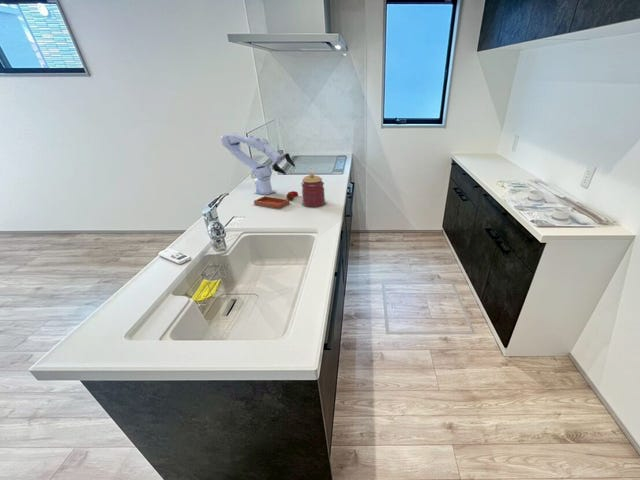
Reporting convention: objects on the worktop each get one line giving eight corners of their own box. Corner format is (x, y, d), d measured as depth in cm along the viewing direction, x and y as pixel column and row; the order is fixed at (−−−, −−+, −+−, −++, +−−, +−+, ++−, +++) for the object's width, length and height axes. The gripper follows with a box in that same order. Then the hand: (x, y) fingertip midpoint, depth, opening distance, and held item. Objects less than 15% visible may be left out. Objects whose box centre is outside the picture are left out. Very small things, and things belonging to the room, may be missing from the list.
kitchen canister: (298, 205, 180) (295, 174, 171) (310, 199, 190) (307, 169, 181) (318, 208, 176) (316, 176, 167) (329, 201, 187) (327, 171, 177)
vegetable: (294, 195, 185) (299, 192, 196) (285, 192, 184) (291, 188, 195) (292, 202, 187) (297, 198, 198) (283, 199, 186) (289, 195, 197)
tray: (254, 204, 182) (253, 200, 180) (265, 199, 189) (264, 196, 188) (279, 209, 176) (278, 204, 174) (289, 203, 183) (288, 199, 182)
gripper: (262, 158, 179) (280, 173, 179) (281, 143, 183) (298, 158, 183) (264, 165, 186) (281, 180, 185) (282, 150, 190) (298, 165, 189)
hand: (289, 169), depth 184 cm, fingers open, 7 cm apart
